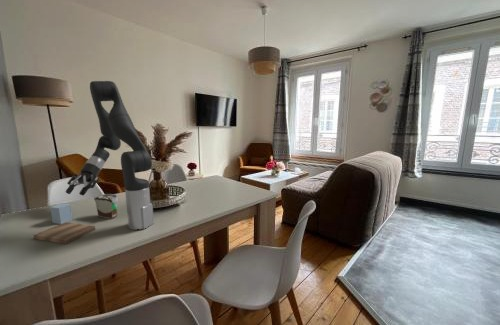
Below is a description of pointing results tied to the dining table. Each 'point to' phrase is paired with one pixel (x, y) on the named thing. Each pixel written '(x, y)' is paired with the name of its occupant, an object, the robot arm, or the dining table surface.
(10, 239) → the dining table surface
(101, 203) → the food container
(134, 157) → the robot arm
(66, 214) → the slate block
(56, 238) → the walnut board
